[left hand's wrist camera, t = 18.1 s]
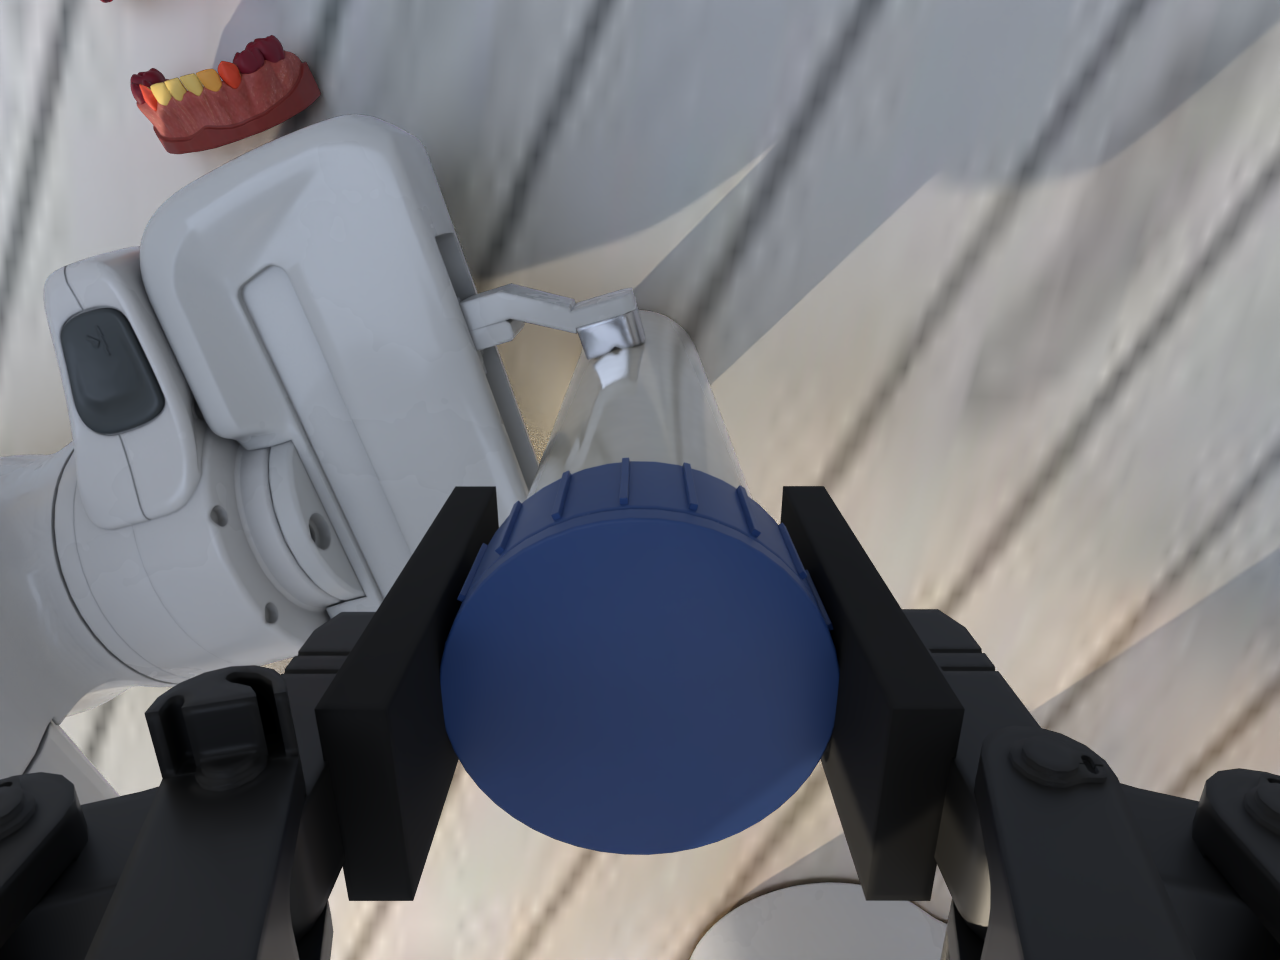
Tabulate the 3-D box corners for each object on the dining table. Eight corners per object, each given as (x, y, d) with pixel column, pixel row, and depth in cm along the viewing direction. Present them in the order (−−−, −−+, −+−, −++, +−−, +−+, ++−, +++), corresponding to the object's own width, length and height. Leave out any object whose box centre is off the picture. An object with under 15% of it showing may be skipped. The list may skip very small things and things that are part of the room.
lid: (870, 660, 13) (916, 753, 10) (593, 803, 14) (584, 913, 12) (698, 386, 11) (712, 431, 9) (398, 572, 12) (347, 650, 10)
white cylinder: (570, 417, 30) (459, 768, 12) (589, 298, 29) (498, 486, 10) (686, 439, 31) (758, 813, 12) (712, 322, 29) (842, 547, 10)
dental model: (114, 167, 23) (-22, -149, 20) (187, 173, 27) (82, -90, 24) (291, 122, 23) (177, -204, 20) (339, 135, 27) (249, -134, 24)
